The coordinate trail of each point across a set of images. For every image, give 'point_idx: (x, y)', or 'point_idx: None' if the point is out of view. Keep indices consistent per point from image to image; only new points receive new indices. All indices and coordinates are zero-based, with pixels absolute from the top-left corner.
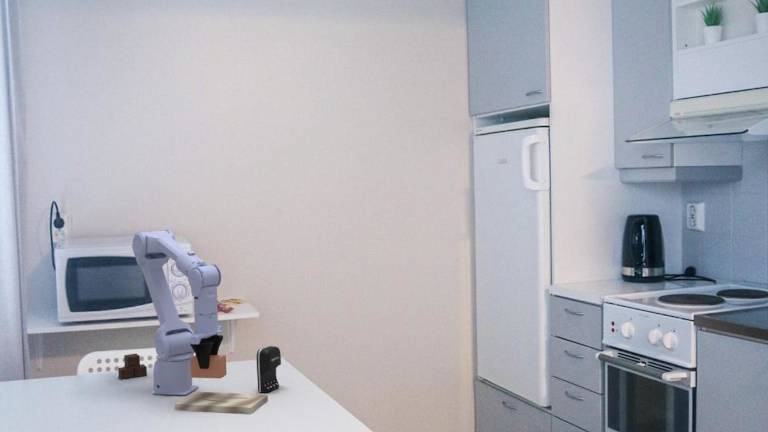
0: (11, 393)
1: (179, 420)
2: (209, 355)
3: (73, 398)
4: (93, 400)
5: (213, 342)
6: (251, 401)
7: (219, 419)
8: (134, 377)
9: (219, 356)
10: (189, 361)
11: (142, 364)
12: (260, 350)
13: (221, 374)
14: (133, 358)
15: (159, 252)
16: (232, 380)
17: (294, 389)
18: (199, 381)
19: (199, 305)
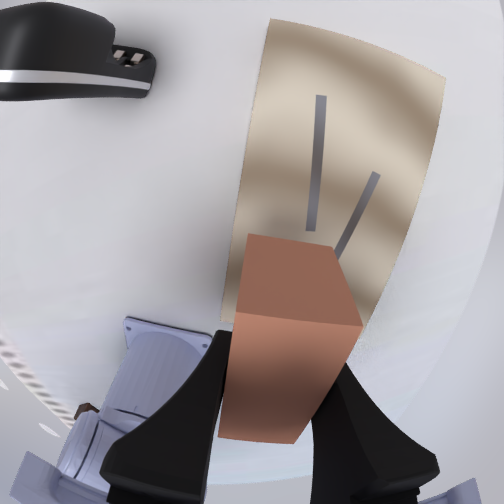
0: (220, 483)
1: (446, 286)
2: (355, 401)
3: (240, 458)
4: (252, 445)
5: (393, 478)
6: (373, 73)
7: (469, 178)
8: None
9: (279, 347)
10: (140, 406)
11: (75, 419)
12: (9, 71)
13: (325, 254)
14: None
15: None
16: (39, 239)
17: None
18: (74, 321)
19: None
